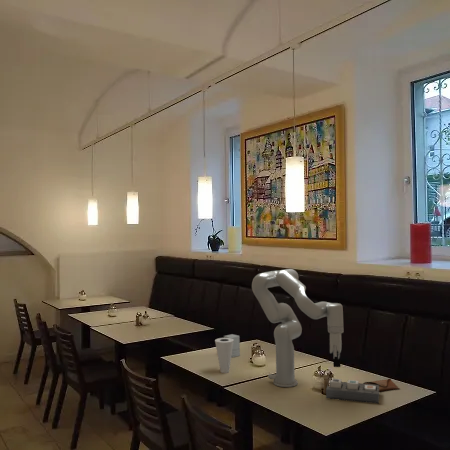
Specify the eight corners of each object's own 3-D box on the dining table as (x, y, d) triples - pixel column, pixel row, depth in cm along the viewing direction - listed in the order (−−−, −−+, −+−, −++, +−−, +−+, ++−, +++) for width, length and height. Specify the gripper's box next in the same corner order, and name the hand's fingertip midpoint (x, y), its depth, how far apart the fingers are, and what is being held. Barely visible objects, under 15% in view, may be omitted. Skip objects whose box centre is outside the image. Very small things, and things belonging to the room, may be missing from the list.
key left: (330, 389, 244) (330, 381, 244) (331, 386, 249) (331, 378, 248) (340, 390, 242) (340, 382, 242) (341, 387, 247) (341, 379, 247)
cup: (234, 369, 290) (234, 337, 290) (233, 374, 279) (232, 342, 279) (216, 368, 291) (216, 337, 291) (214, 374, 280) (213, 342, 280)
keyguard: (326, 398, 240) (326, 389, 240) (329, 389, 253) (329, 380, 253) (378, 403, 233) (378, 393, 233) (379, 394, 245) (379, 384, 245)
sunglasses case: (372, 394, 245) (367, 380, 249) (364, 397, 251) (360, 383, 254) (401, 389, 252) (396, 375, 255) (393, 392, 258) (388, 379, 261)
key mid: (347, 391, 241) (347, 382, 241) (348, 388, 246) (347, 379, 246) (357, 392, 240) (357, 383, 240) (358, 388, 245) (358, 380, 244)
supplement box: (232, 353, 324) (232, 333, 323) (240, 355, 318) (239, 335, 318) (223, 355, 319) (223, 335, 319) (231, 358, 313) (230, 337, 313)
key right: (364, 396, 239) (364, 388, 239) (365, 393, 244) (364, 384, 244) (375, 397, 237) (375, 388, 237) (375, 394, 242) (375, 385, 242)
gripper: (329, 325, 253) (330, 362, 253) (326, 332, 239) (327, 370, 239) (344, 326, 251) (346, 362, 251) (342, 332, 237) (343, 371, 237)
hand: (337, 366), depth 245 cm, fingers closed
